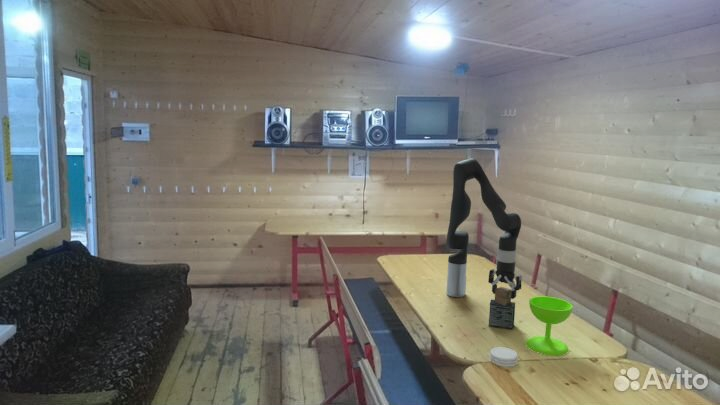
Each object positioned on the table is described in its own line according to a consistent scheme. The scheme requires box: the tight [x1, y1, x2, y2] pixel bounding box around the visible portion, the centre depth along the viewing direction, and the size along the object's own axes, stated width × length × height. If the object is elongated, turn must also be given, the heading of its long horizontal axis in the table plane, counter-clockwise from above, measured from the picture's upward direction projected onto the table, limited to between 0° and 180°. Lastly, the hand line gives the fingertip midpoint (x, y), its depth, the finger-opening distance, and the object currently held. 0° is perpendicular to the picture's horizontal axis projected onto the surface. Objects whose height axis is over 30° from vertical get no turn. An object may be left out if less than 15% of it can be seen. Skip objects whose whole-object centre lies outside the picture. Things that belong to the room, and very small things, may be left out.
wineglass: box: [525, 295, 574, 357], centre depth 195 cm, size 16×16×18 cm
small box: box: [488, 299, 516, 331], centre depth 216 cm, size 11×6×10 cm, turn 71°
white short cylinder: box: [489, 346, 519, 368], centre depth 183 cm, size 10×10×4 cm
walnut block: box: [494, 286, 512, 305], centre depth 214 cm, size 5×5×6 cm
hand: (503, 295), depth 214 cm, fingers open, 8 cm apart
